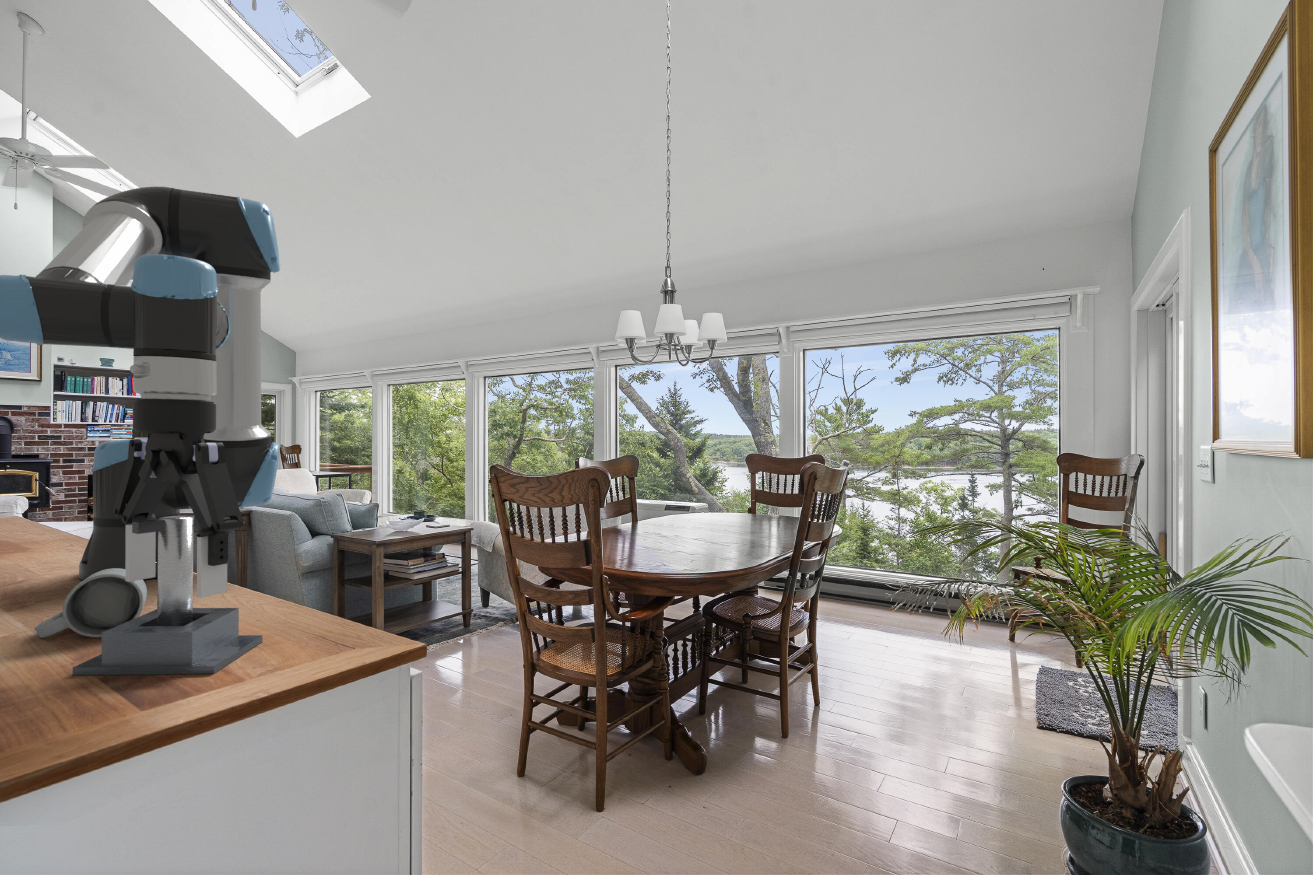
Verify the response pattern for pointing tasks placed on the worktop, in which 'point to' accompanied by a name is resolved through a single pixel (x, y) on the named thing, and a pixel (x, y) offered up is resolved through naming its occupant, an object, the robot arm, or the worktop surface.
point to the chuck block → (171, 645)
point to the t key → (173, 566)
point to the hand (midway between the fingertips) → (175, 586)
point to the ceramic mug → (98, 605)
